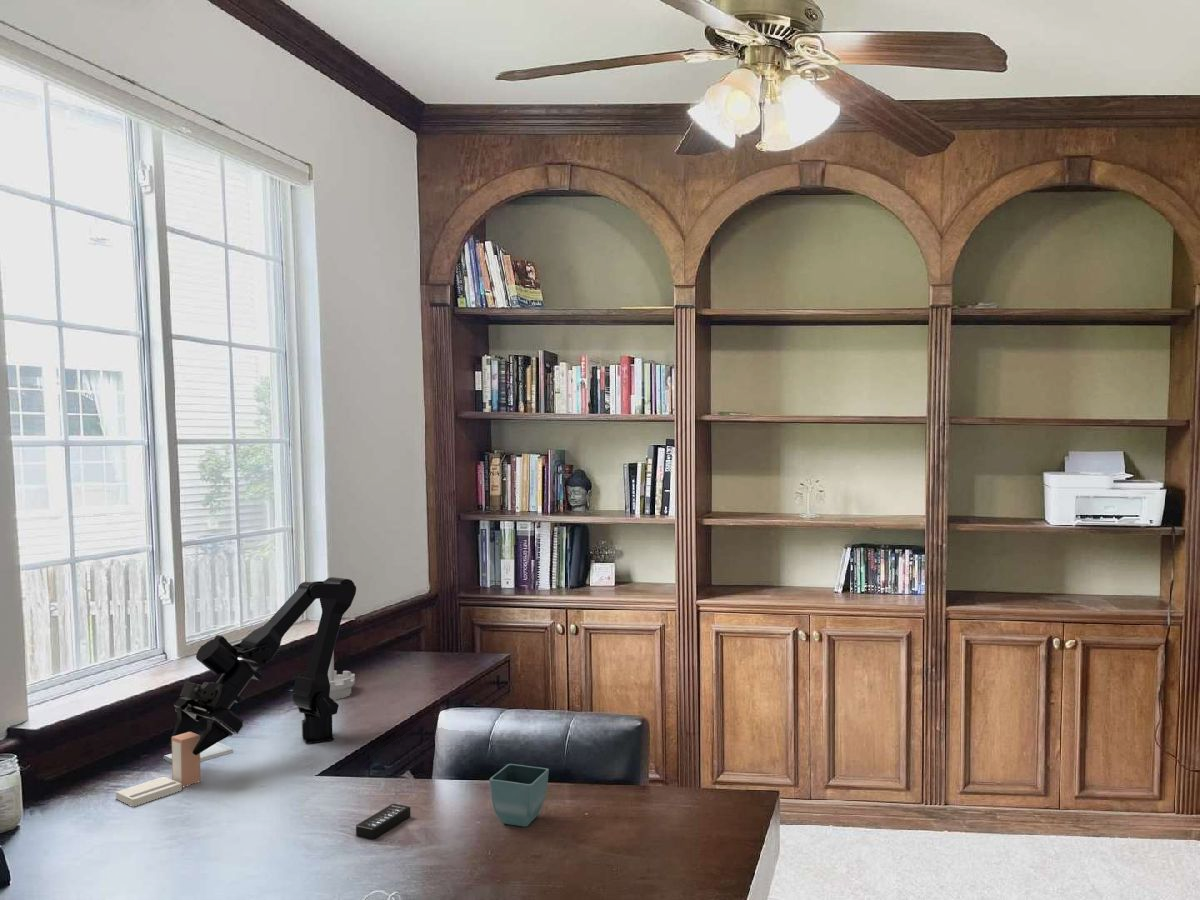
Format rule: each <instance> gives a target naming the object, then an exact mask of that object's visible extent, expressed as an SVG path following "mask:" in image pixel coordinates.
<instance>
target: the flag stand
mask: <svg viewBox="0 0 1200 900" xmlns="http://www.w3.org/2000/svg"><path fill="white" fill-rule="evenodd" d="M334 651H335V650H334ZM334 651H333V655H332V659H331V663H330V667H329V670H328V678H329V682H330V695H329V697H330V698H331V699H332V700H334V701H335V700H340V698H341V699H344V697H345V698H347V697H346V696H348V697H349V696H351V695H352V687H353V686H355V683H356V676H355V673H352V671H349V670H343V671H342V674H339V673H338V671H337V670H335V660H334V659H335V658H334V657H335V652H334ZM337 673H338V674H337ZM350 694H351V695H350Z"/></svg>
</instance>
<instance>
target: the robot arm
mask: <svg viewBox="0 0 1200 900" xmlns="http://www.w3.org/2000/svg"><path fill="white" fill-rule="evenodd" d="M356 592H357V586H356V585H355V583H354V581H353V580H352V579H350V578H344V577H343V578H341V577H335V576H332V577H331V576H330V577H328V578H326V579H325V580H322V581H321V580H320V581H304V582H302V583H299V585H298V587H297V589H296V590H295V592H294V593H292V595H290V597H289V598H288V599H287V600H286V601H285V602H284V603H283V605H282V606H281V607H280V608H279V609H278V610H277V611H276V613H274V614H273V615H272V617H271V618H270V619H269V620H268V621H267V622H266V623H264V625H261V626H260V627H258V628H256V629H254V630H253V631H251V632H250V633H249V634H248V635H246V636H245V637H244V638H242V640H241V641H240V642H238V643H235V644H230V643H229V641H228V640H227V639H226V637H224V636H223V635H219V634H217V635H215V637H214V638H213V639H210V640H208V641H207V642H206V643H204V644H203V645H201V646H200V648H199V649H198V650H197V653H196V656H195V658H196V660H197V661H198V662H200V663H201V664H202V665H203V666H204V667H205V668H206V669H207V670H209V671H210V672H211V673H213V674H214V675H216V676H218V675H221V676H220V677H219V678H218V680H217V681H216V682H215V681H211V682H208V681H204V682H203V683H202V684H198V683H194V682H190V681H186V680H185V682H184V685H183V687H182V689H181V693H180V694H179V696H180V697H178V699H177V700H176V701H175V703H174V704H173V706H174V707H175V712H176V716H177V720H176V723H175V728H174V730H173V732H172V735H171V738H170V740H169V743H168V745H169V746H171V747H172V737H173V736H176V735H180V734H183V733H187V732H192V733H193V731H194V730H195V729H196V728H198V726H200V725H201V723H200V722H201V721H202V720H204V719H207V722H206V724H207V725H206V729H205V730H204V732H203V733H202V735H201V737H200V740H199V741H198V743H197V745H196V746H195V748H194V750H193V752H192V753H193V754H194V755H198V754H199V753H201V752H203V751H204V750H206V749H207V748H209V747H211V746H212V745H214V744H216V743H217V742H219V743H220V742H221V741H222V740H224V739H226V738H228V737H231V736H233V735H234V734H236V735H237V734H239V733H240V731H241V730H242V728H243V726H244V720H243V719H242V718H241V717H239V716H238V714H236V713H235V712H233V711H232V710H231V707H232V706H233V704H234V703H237V704H239V703H240V701H241V700H242V698H241V697H240V694H241V693H242V692H243V690H244V689H245V688H246V687H247V685H248V684H249V683H250V681H251V680H256V681H261V680H262V678H263V676H262V673H261V670H262V669H261V667H258V666H252V664H250V663H249V662H251V663H255V664H258V665H264V664H268V663H269V662H270V661H272V660H273V658H274V656H275V655H276V654H277V652H278V650H279V649H280V647H281V643H282V639H283V637H284V636H285V634H286V633H287V632H288V631H289V630H290V629H291V627H293V625H294V624H295V623H296V622H297V621H298V619H300V618H301V616H302V615H303V614H304V613H305V612H306V610H307V609H309V607H310V606H311V605H312V604H313V602H315V600H317V599H318V600H319V603H320V608H321V616H320V620H319V622H318V623H319V624H318V628H317V631H316V635H315V639H314V643H313V647H312V650H311V654H310V659H309V662H308V666H307V669H306V671H305V672H304V673H303V675H302V676H299V675H297V676H296V677H295V679H294V686H293V688H292V690H291V692H290V693H291V694H292V701H293V704H295V706H296V707H297V709H298V711H299V713H301V714H303V719H301V738H302V740H303V741H304V742H305V744H307V745H308V744H315V743H321V742H323V743H324V742H328V741H329V740H330V741H333V740H335V738H334V735H333V715H336V714H337V713H338V710H339V704H338V703H337V702H336V701H335V700H332V699H331V698H330V697H329V695H330V682H329V678H328V670H329V667H330V663H331V659H332V655H333V651H335V646H336V642H337V638H338V634H339V630H340V627H341V622H342V619H343V616H344V615H345V613H346V612H347V611H348V610H349V608H350V607H351V606H352V603H353V602H354V598H355V597H356ZM238 658H239V659H241V660H243V661H241V660H239V659H238ZM330 741H329V742H330Z"/></svg>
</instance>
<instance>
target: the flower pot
mask: <svg viewBox="0 0 1200 900" xmlns="http://www.w3.org/2000/svg"><path fill="white" fill-rule="evenodd" d="M549 771H550V769H549V768H547V767H546V768H545V767H539V766H531V765H523V764H516V763H515V764H514V763H508V764H506V765H505V766H504V767H502V768H501V769H500V770H499V771H498V772H496V773H495V774H494V775H492V776H491V777H490V778H489V787H490V788H489V789H490V795H491V802H492V807H493V810H494V811H495V812H494V813H495V814H496V816H497V817H498V819H499V820H500V822H501V823H503V824H505V825H512V826H518V827H528V826H529V825H530V824H531V823H532V822H533V821H534V820H535V819H537V817H538V815H539V813H540V811H541V809H542V807H543V806H544V802H545V799H546V796H547V789H548V781H549V773H550V772H549Z"/></svg>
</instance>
